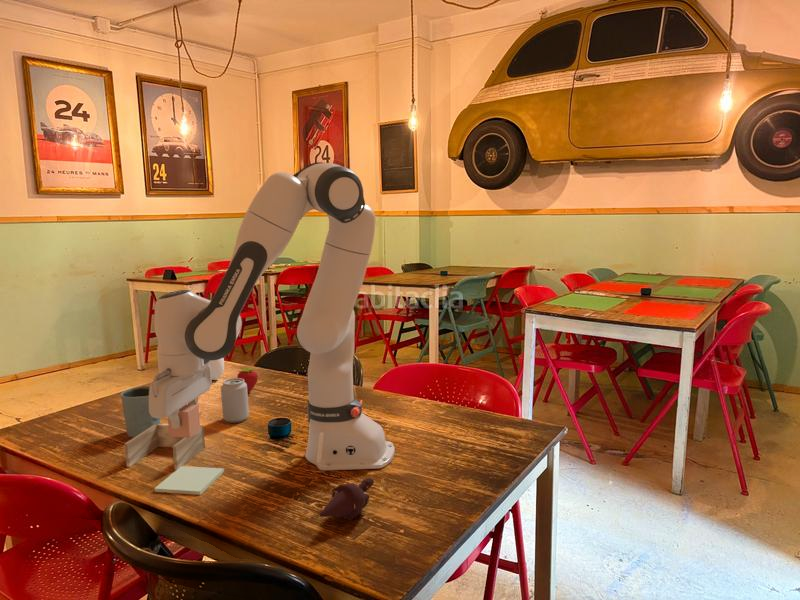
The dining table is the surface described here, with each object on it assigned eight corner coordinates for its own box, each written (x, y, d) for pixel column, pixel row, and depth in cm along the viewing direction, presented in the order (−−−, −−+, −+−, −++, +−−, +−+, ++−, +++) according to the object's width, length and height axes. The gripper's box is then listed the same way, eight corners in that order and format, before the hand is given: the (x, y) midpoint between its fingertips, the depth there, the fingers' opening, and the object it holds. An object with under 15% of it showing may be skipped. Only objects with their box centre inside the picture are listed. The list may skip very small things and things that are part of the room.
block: (200, 429, 128) (198, 405, 128) (189, 437, 124) (187, 412, 123) (180, 428, 129) (178, 404, 128) (169, 436, 125) (167, 411, 124)
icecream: (337, 509, 103) (387, 483, 115) (310, 489, 107) (361, 466, 119) (330, 541, 105) (380, 512, 117) (303, 520, 109) (354, 494, 121)
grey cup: (121, 431, 159) (116, 391, 158) (157, 422, 166) (153, 383, 164) (130, 442, 152) (126, 399, 150) (169, 432, 158) (165, 391, 156)
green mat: (224, 471, 133) (223, 468, 133) (200, 494, 122) (200, 491, 122) (181, 469, 135) (181, 466, 135) (154, 491, 124) (154, 488, 124)
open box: (205, 447, 147) (203, 425, 146) (177, 469, 135) (175, 446, 134) (157, 444, 149) (155, 423, 149) (126, 466, 137) (124, 443, 136)
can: (252, 414, 170) (250, 376, 168) (243, 424, 163) (240, 384, 161) (229, 414, 171) (226, 376, 169) (219, 423, 164) (215, 384, 162)
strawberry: (250, 396, 187) (249, 367, 185) (234, 393, 190) (232, 365, 189) (263, 391, 192) (261, 363, 191) (246, 388, 196) (244, 360, 194)
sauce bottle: (220, 375, 212) (216, 329, 209) (228, 380, 206) (225, 332, 203) (199, 380, 207) (195, 332, 204) (207, 384, 201) (203, 336, 198)
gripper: (166, 377, 113) (171, 441, 116) (214, 352, 133) (218, 407, 136) (137, 376, 114) (143, 440, 117) (190, 351, 134) (194, 406, 137)
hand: (184, 422), depth 126 cm, fingers closed on block, 4 cm apart
